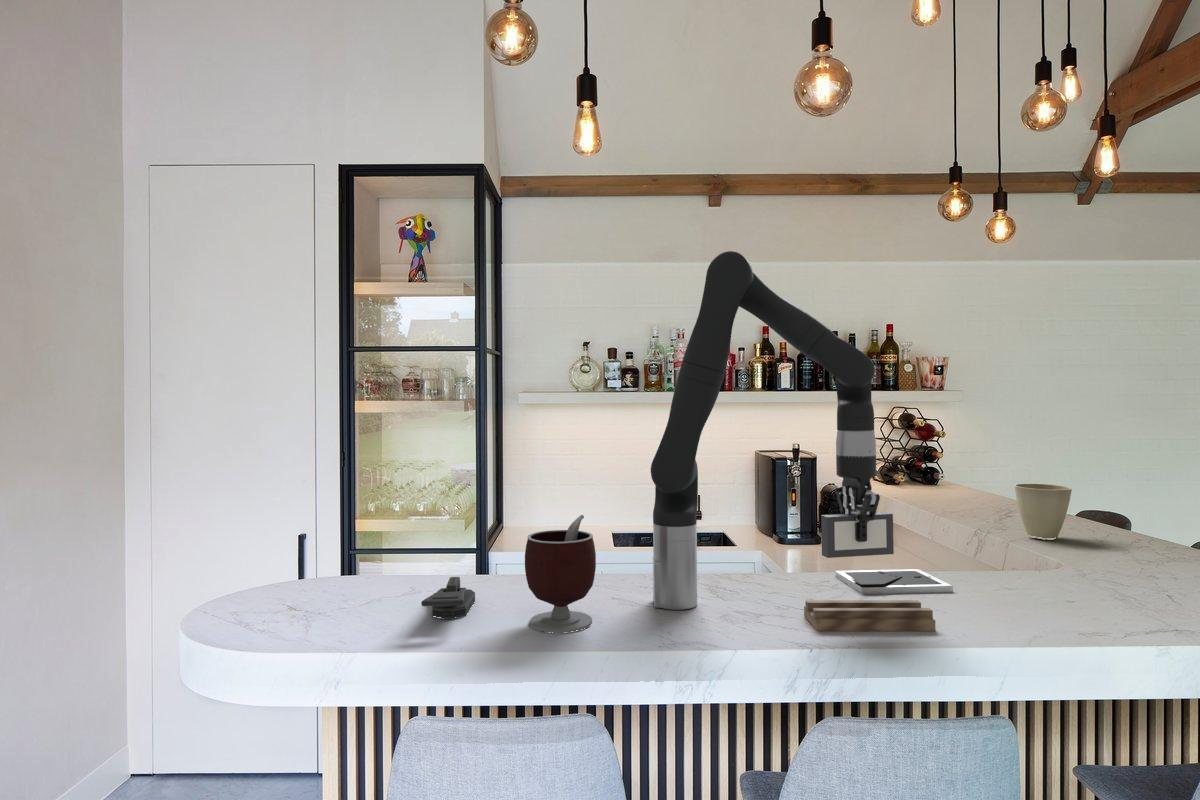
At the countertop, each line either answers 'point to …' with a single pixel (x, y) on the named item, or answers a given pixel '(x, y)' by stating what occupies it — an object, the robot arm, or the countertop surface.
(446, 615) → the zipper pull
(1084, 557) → the countertop surface
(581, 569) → the mate gourd
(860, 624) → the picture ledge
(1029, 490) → the plant pot
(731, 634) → the countertop surface
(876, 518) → the grey photo frame
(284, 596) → the countertop surface
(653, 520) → the robot arm
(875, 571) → the picture frame
